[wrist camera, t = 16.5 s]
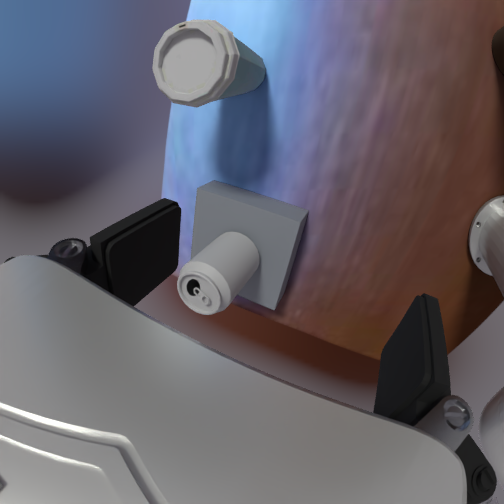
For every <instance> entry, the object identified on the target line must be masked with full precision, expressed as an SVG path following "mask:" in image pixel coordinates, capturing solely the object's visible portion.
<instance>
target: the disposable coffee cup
mask: <svg viewBox="0 0 504 504" xmlns="http://www.w3.org/2000/svg"><path fill="white" fill-rule="evenodd" d="M153 72H154V75H155V78H156V81H157V84H158V87H159V89H160V90H161V91H162V92H163V93H164V94H165V95H166V96H167V97H168V98H169V99H170V100H171V101H172V102H173V103H176V104H181V105H187V106H192V107H199V106H202V105H204V104H207V103H209V102H212V101H216V100H220V99H224V98H228V97H232V96H236V95H240V94H244V93H247V92H250V91H253V90H255V89H256V88H257V87H258V86H259V85H260V84H261V83H262V82H263V80H264V76H265V72H266V68H265V65H264V62H263V59H262V58H261V57H260V56H258V55H257V54H256V53H255V52H254V51H252V50H251V49H250V48H248V47H247V46H246V45H245V44H243V43H242V42H241V41H239V40H238V39H237V38H235V37H234V36H233V33H232V32H231V31H229V30H228V29H227V28H225V27H224V26H223V25H221V24H220V23H218V22H217V21H216V20H191V21H186V22H183V23H179V24H177V25H176V26H174V27H172V28H171V29H169V30H167V31H166V32H165V33H164V35H163V36H162V38H161V39H160V41H159V43H158V44H157V46H156V48H155V51H154V60H153Z"/></svg>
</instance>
